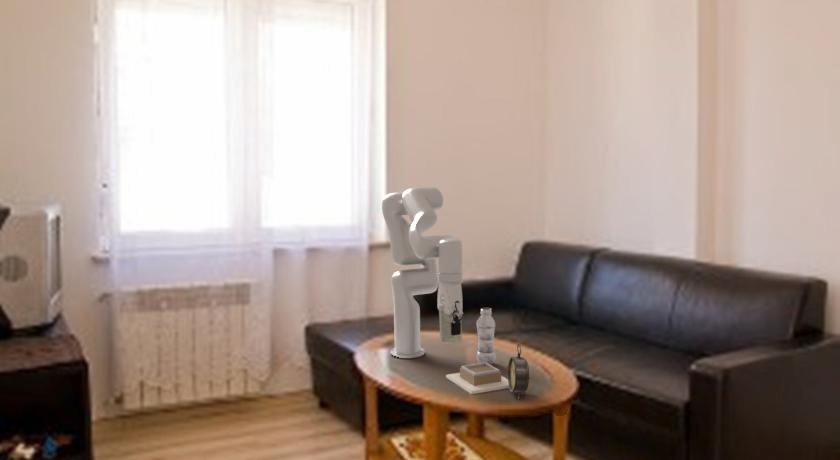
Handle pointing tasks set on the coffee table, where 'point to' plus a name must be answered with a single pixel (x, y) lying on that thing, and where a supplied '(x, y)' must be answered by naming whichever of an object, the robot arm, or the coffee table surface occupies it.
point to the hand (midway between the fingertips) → (450, 331)
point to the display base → (480, 387)
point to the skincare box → (447, 328)
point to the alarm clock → (518, 374)
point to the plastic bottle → (486, 337)
